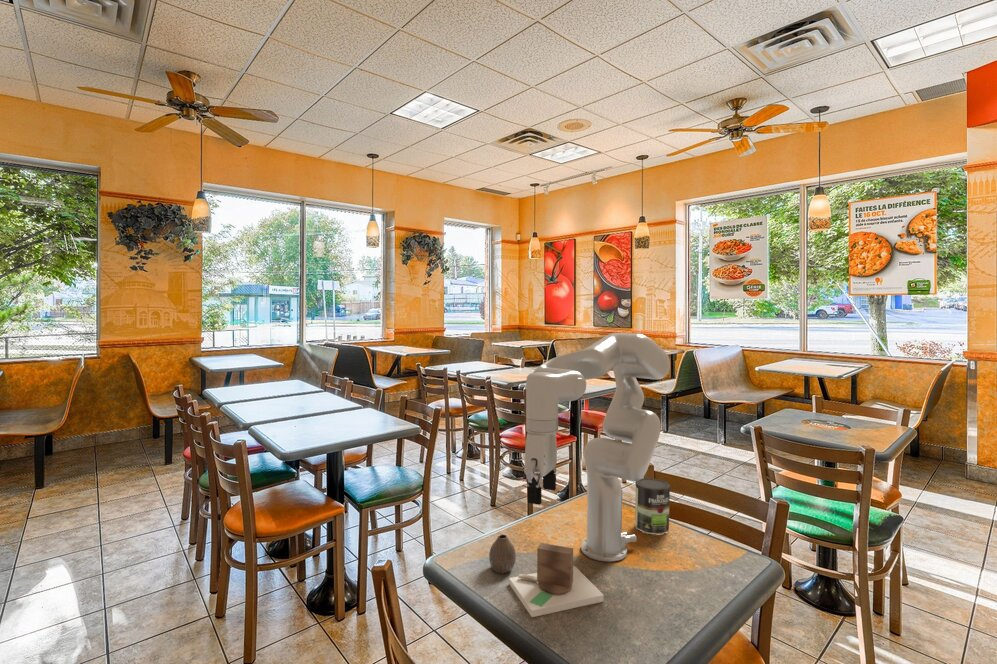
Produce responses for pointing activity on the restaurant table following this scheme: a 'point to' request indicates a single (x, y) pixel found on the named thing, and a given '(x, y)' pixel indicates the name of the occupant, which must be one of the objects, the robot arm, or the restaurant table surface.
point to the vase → (502, 555)
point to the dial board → (555, 595)
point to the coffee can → (652, 506)
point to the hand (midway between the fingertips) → (542, 496)
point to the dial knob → (553, 569)
